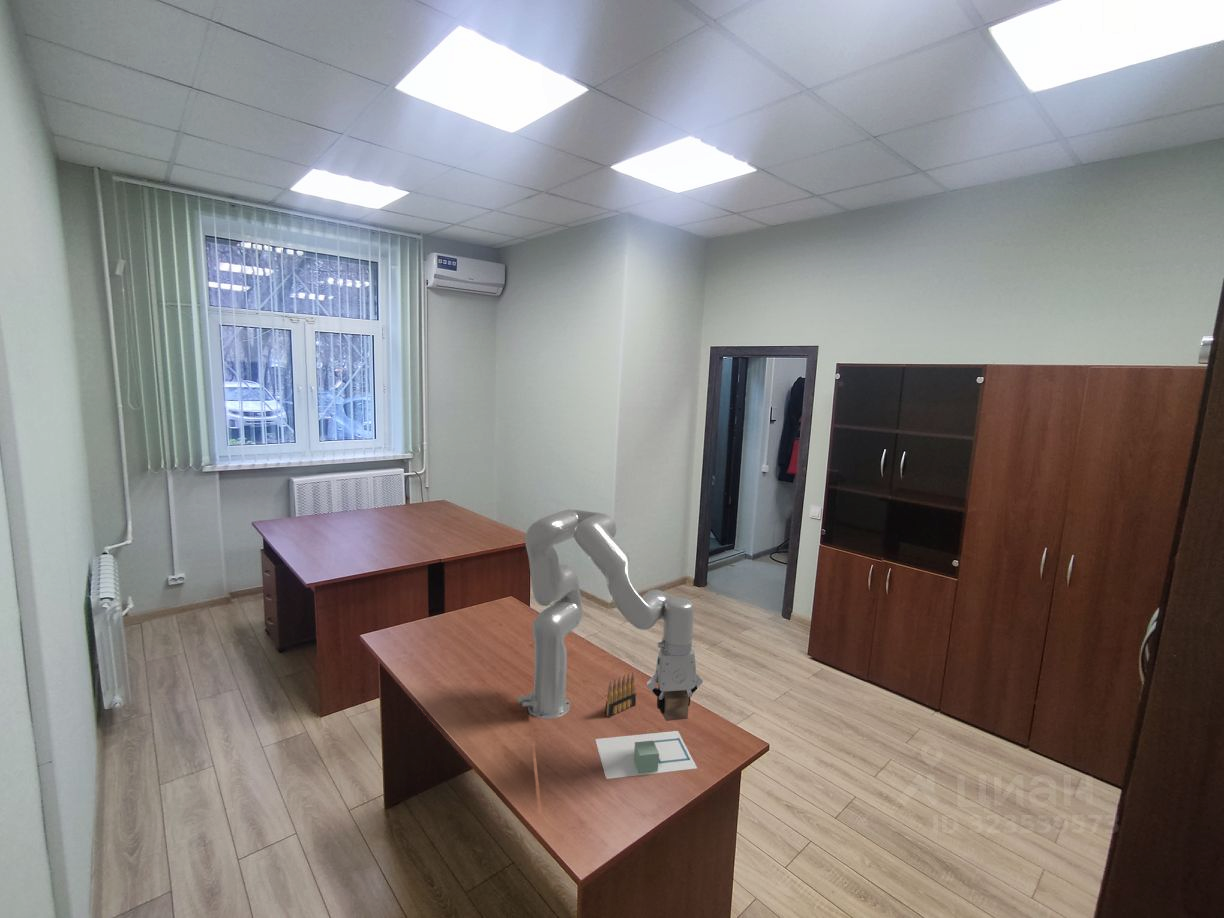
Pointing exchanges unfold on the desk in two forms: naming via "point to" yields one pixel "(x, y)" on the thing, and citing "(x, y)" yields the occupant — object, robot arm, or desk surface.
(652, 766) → the sage cube
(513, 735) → the desk surface
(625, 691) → the ammunition clip
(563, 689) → the robot arm
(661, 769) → the building board
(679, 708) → the walnut block
